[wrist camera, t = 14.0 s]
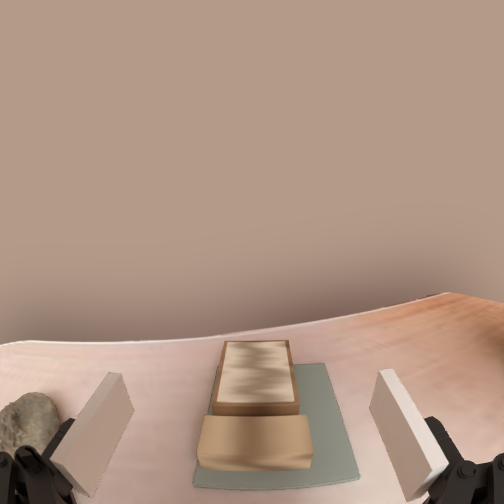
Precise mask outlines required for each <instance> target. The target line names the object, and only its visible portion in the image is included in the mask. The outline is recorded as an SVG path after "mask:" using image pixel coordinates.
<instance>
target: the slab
mask: <svg viewBox="0 0 504 504" xmlns="http://www.w3.org/2000/svg"><path fill="white" fill-rule="evenodd" d="M211 406H212V412H213V416H238V417H265V416H291V415H299V407H300V403H299V397H298V392H297V386H296V380H295V375H294V369H293V363H292V358H291V352H290V347H289V341H288V340H276V341H224V346H223V351H222V356H221V361H220V365H219V370H218V375H217V380H216V385H215V390H214V395H213V400H212V405H211Z"/></svg>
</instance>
